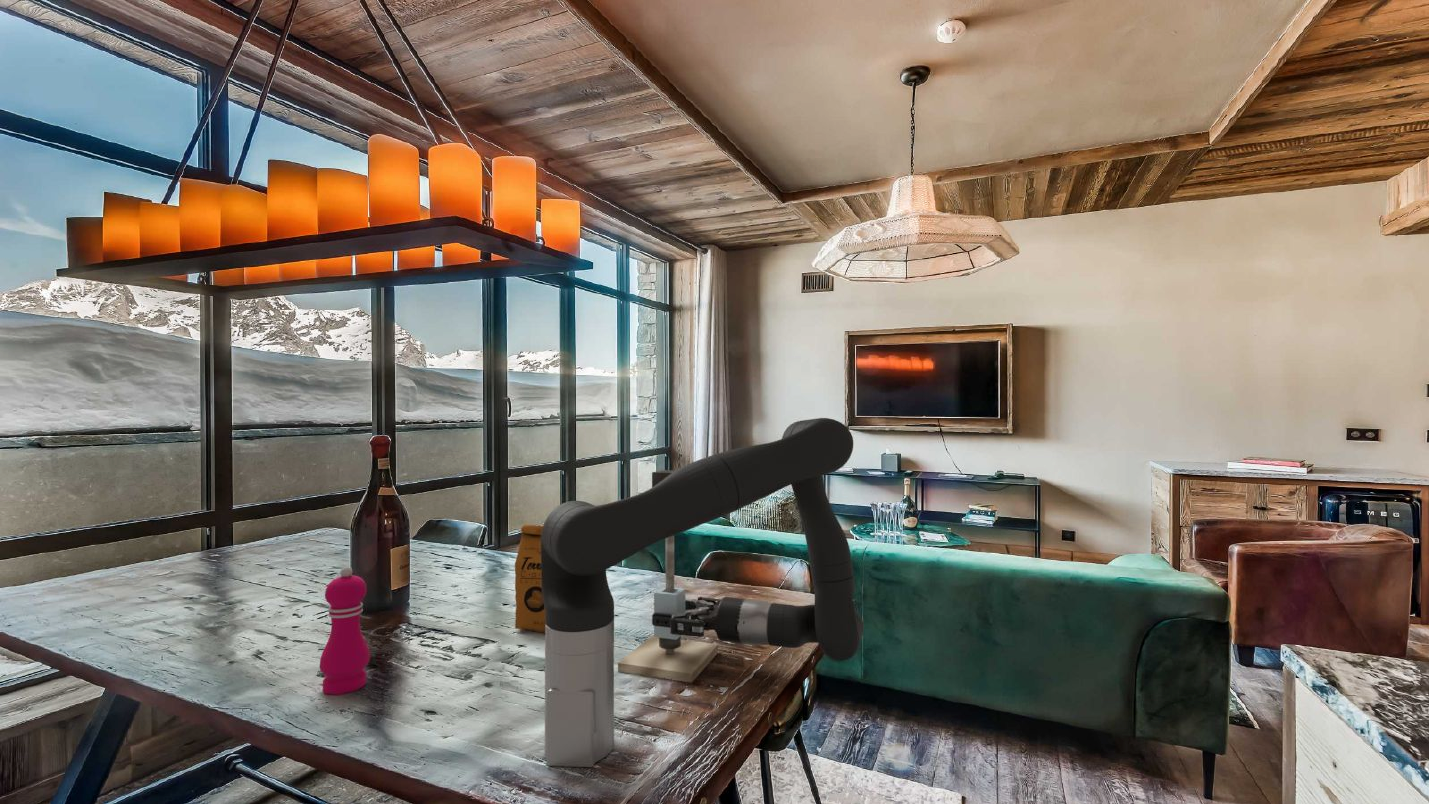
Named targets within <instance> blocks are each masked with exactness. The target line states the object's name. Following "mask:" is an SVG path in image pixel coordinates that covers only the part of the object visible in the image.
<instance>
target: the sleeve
mask: <svg viewBox="0 0 1429 804" xmlns="http://www.w3.org/2000/svg"><path fill="white" fill-rule="evenodd" d="M685 600H686V588H683V587H675V586H674V593H668V592H666V586H662V587H661V588H659V589H657V590H656V591H655V592H653V601H654V602H653V614H654V613H655V612H658V613H667V614H682V613H684V611H685ZM682 619H684V618H682ZM678 625H683V624H680V623H678ZM653 627H654V628H653V636H654V637H659V638H666V639H674V640H677V639H678V638H679V637H680V636H681V637H682V635H675V634H671V628H668V627H660V626H654V625H653Z"/></svg>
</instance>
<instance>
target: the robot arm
mask: <svg viewBox="0 0 1429 804" xmlns="http://www.w3.org/2000/svg"><path fill="white" fill-rule="evenodd" d="M853 450H854V437H853V435H852V432H851V431H850V430H849V428H848V427H847V425H845V424H844V423H842V422H841V421H839V420H836V419H832V418H828V417H819V418H811V419H804V420H797V421H795V422H793V423H791V424H789V425H788V426H787V427H786V429H785V430H784V432H783V434H782V437H781V438H780V439H779V440H778V439H777V440H774V441H771V442H767V443H761V444H754V445H748V446H744V447H737V448H735V449H730V450H726V451H722V452H718V453H714V454H712V455H709V456H706V457H704V458H703V457H702V458H701V459H698V460H696V461H692V462H691V463H690V462H689V463H687V464H686V465H684V466H681V467H680V468H678V469H676V471H675V472H673V473H672V474H670V475H669V476H668V477H666V478H665V479H664V480H662V481H661V482H660V483H658V484H657V485H655V486H654V487H652V486H651V488H648V489H647V490H645V491H643V492H641V493H638V494H635V495H632V496H630V497H626V498H623V499H620V500H615V501H613V502H612V501H611V502H608V503H603V504H599V505H595V504H592V503H589V502H587V501H582V500H571V501H566V502H563V503H561V504H559V505H558V506H556V507H555V508H554V509H553V510H552V511H550V513H549V514H548V516H547V517H546V519H545V521H544V523H543V525H542V526H543V529H542V536H541V584H542V598H543V603H544V608H545V633H544V634H545V635H544V637H545V638H544V639H545V640H544V642H545V644H544V645H545V646H544V657H545V658H544V755H545V757H546V759H545V761H546V763H545V765H546V766H548V767H549V766H554V767H573V768H574V767H575V768H576V767H578V768H579V767H580V768H585V767H586V768H593V767H594V766H595V764H596V763H597V762H598V761H600V760H602V759H604V758H605V757H607V756H608V755H609V754H610V753H611V752H612V751H613V748H614V747H615V745H614V744H615V736H614V735H615V728H614V727H615V714H614V713H615V670H614V669H615V600H614V597H613V594H612V592H611V589H610V586H609V582H608V578H607V570H609V569H610V568H612V567H614V566H616V565H617V564H619V563H621V562H623V561H625V560H627V559H628V558H630V557H632V556H633V555H635V554H637V553H639V552H641V551H643V550H645V549H646V548H649V547H650V546H652V545H654V544H656V543H658V542H661V541H663V540H666V538H668V537H671V536H674V537H675V536H677V535H679V534H682V533H684V532H687V531H689V530H692V529H694V528H697V527H699V526H701V525H705V524H706V523H710V522H713V521H715V520H718V519H720V518H722V517H725V516H727V515H729V514H732V513H734V512H736V511H738V510H740V509H742V508H745V507H746V506H749V505H751V504H753V503H755V502H756V503H757V501H759V500H762V499H764V498H766V497H768V496H771V495H772V494H774V493H776V492H778V491H780V490H782V489H785V488H786V487H789V486H790V485H791V489H792V492H793V495H794V499H795V502H796V506H797V509H798V513H799V517H800V521H801V523H802V528H803V532H804V536H805V542H806V547H807V552H808V553H807V554H808V560H809V567H810V574H811V581H812V586H813V592H814V604H807V605H806V604H805V605H793V604H784V603H775V602H771V601H770V602H768V601H765V600H760V599H753V598H751V599H750V598H742V597H740V598H739V597H731V596H724V597H722V598H721V599H720V598H713V597H712V598H711V597H706V596H705V597H704V596H699V597H697V599H696V598H693V599H690V600H688V599H685V611H684V613H682V614H667V613H658V612H655V613H654V612H653V613H652V615H651V618H652V619H651V624H652V625H653V627H654V626H660V627H668V628H671V634H675V635H681V636H687V637H697V638H702V637H704V635H705V632H708V631H715V633H716V637H717V638H718V640H719V641H721V642H728V643H735V644H743V645H751V646H770V647H771V646H772V647H779V648H787V649H797V648H801V647H802V646H804V645H807V644H809V643H811V644H812V643H813V644H815V643H816V644H818V646H819V648H820V649H821V651H822V652H823V654H824V655H826V656H827V657H828V658H829V659H831V660H833V661H837V662H845V661H848V660H850V659H851V658H853V657H854V656H855V655H856V654H857V652H858V651H859V648H860V646H861V642H862V638H863V634H864V630H865V629H864V628H865V627H864V622H863V621H864V620H863V619H862V617H861V615H860V614H859V613H858V611H856V608H855V607H856V606H855V600H854V592H855V576H854V575H855V574H854V573H855V572H854V568H853V561H852V554H851V549H850V544H849V541H848V539H847V537H846V534H845V532H844V529H843V528H842V526H841V523H840V522H839V520H838V518H837V516H836V514H835V512H834V510H833V508H832V506H831V504H830V501H829V498H828V495H827V492H826V488H825V483H824V475H827V474H828V475H829V474H830V473H834V472H835V473H836V472H837V471H839V470H840V469H841V468H843V467H844V466H845V465H846V464H847V463H848V461H849V460H850V458H851V456H852V453H853ZM682 618H684V619H682ZM678 623H680V624H683V625H678Z"/></svg>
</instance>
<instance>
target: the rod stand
mask: <svg viewBox="0 0 1429 804" xmlns="http://www.w3.org/2000/svg"><path fill="white" fill-rule="evenodd" d="M676 470H677V469H676ZM676 470H675V469H674V470H671V469H670V470H669V469H663V470H662V469H661V470H658V471H656V470H655V471H652V472H651V488H652V487H654V486H655V485H657V484H658V483H660V482H661V481H662V480H664V479H665V478H666V477H668V476H669V475H670V474H672V473H673V472H675V471H676ZM665 587H666V592H668V593H674V587H675V535H674V536H671V537H668V538H665ZM681 638H682V635H681V636H680V637H679V638H678V639H677V640H674V639H666V638H659V637H654V635H651V636H650V637H649V638H648V639H646V640H645V641H643V643H641V644H640V645H638V646H637V647H636V648H635V649H634V650H632V651H631V652H630V653H628V654H627V655H626V656H625V657H623V659H621V660H620V661H618V662H617V672H620V673H624V674H625V673H626V674H633V675H639V676H646V677H653V678H660V679H664V678H665V679H666V680H671V679H672V681H678V682H679V681H680V682H685V683H693V682H694V681H695V680H696V679H697V677H698V676H699V675H700V673H702V672H703V670H704V669H705V668H706V667H707V666H708V665H709V664H710V663H711V661H712V660H713V659H714V658H715V656H717V654H719V644H715V643H709V642H702V641H700V642H699V641H693V640H687V639H686V640H683V639H681Z"/></svg>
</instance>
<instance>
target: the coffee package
mask: <svg viewBox="0 0 1429 804" xmlns="http://www.w3.org/2000/svg"><path fill="white" fill-rule="evenodd" d="M543 526H544V525H536V524H534V525H533V524H522V527H521V528H520V532H521V536H520V537H521V538H520V542H519V545H518V551H517V554H516V559H515V561H514V575H515V577H514V578H515V580H514V584H515V585H514V589H515V595H514V596H515V597H514V598H515V619H514V620H515V622H514V623H515V624H514V629H518V630H520V629H521V630H527V631H535V632H540V633H544V634H545V608H544V603H543V598H542V584H541V536H542V529H543Z"/></svg>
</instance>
